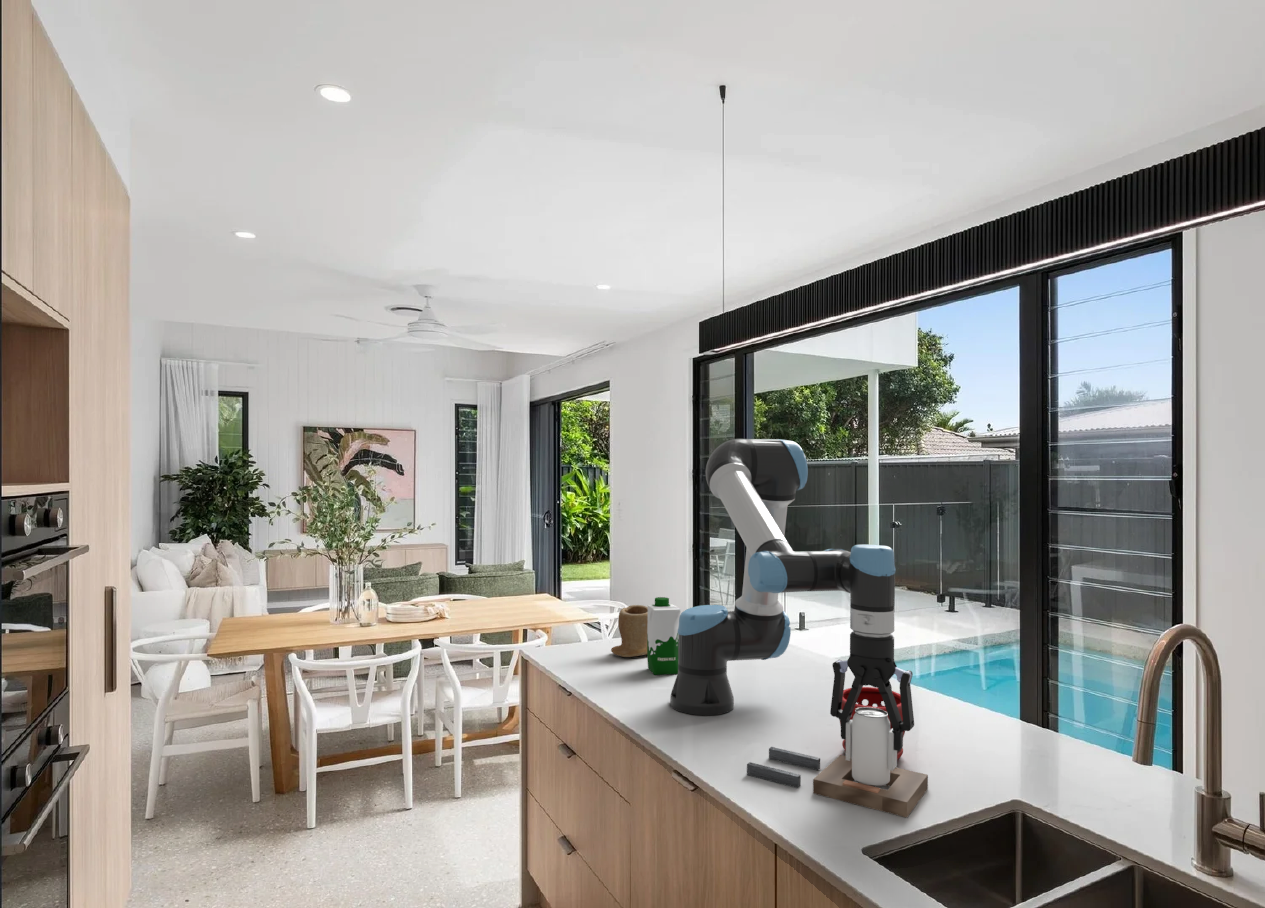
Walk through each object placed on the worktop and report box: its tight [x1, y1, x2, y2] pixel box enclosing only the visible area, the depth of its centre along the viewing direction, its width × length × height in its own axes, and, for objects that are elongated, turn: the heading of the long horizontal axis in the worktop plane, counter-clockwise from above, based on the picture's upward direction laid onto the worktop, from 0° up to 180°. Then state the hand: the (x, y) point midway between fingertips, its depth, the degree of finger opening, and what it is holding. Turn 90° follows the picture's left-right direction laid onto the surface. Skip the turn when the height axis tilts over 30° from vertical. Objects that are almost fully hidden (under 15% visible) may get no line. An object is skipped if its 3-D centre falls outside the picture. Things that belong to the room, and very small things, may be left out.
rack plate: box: [812, 754, 929, 818], centre depth 135 cm, size 16×14×3 cm
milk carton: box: [646, 596, 682, 676], centre depth 214 cm, size 9×9×20 cm
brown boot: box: [610, 604, 648, 658], centre depth 232 cm, size 15×12×15 cm
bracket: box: [746, 746, 821, 789], centre depth 144 cm, size 10×11×2 cm
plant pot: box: [838, 686, 906, 760], centre depth 152 cm, size 13×13×12 cm
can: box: [852, 707, 890, 788], centre depth 136 cm, size 6×6×12 cm
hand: (871, 762), depth 136 cm, fingers open, 7 cm apart
